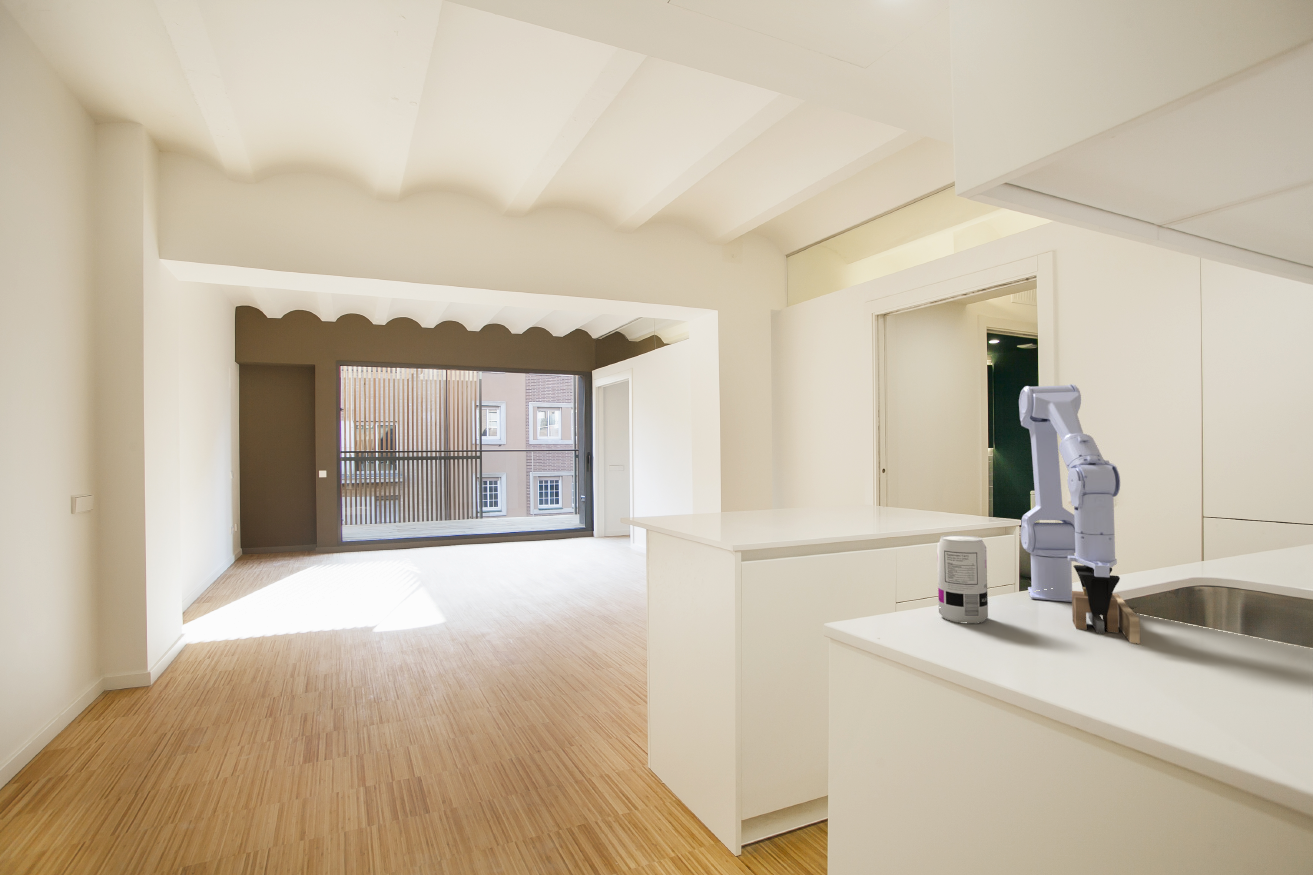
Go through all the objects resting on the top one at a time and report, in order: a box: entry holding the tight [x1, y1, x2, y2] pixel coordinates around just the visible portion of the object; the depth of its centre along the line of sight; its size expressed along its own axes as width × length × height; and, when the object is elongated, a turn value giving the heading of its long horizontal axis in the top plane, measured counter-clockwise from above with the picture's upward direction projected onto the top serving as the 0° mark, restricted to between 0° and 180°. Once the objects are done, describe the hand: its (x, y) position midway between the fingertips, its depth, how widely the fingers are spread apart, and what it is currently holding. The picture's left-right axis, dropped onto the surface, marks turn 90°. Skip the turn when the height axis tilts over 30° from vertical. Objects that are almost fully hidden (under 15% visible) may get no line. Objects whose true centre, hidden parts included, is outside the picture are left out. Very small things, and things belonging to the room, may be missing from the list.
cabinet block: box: [1071, 587, 1119, 634], centre depth 110 cm, size 5×6×7 cm
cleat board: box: [1087, 592, 1141, 645], centre depth 110 cm, size 18×5×4 cm, turn 152°
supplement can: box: [936, 534, 989, 624], centre depth 117 cm, size 8×8×15 cm
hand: (1096, 610), depth 110 cm, fingers closed on cabinet block, 5 cm apart
